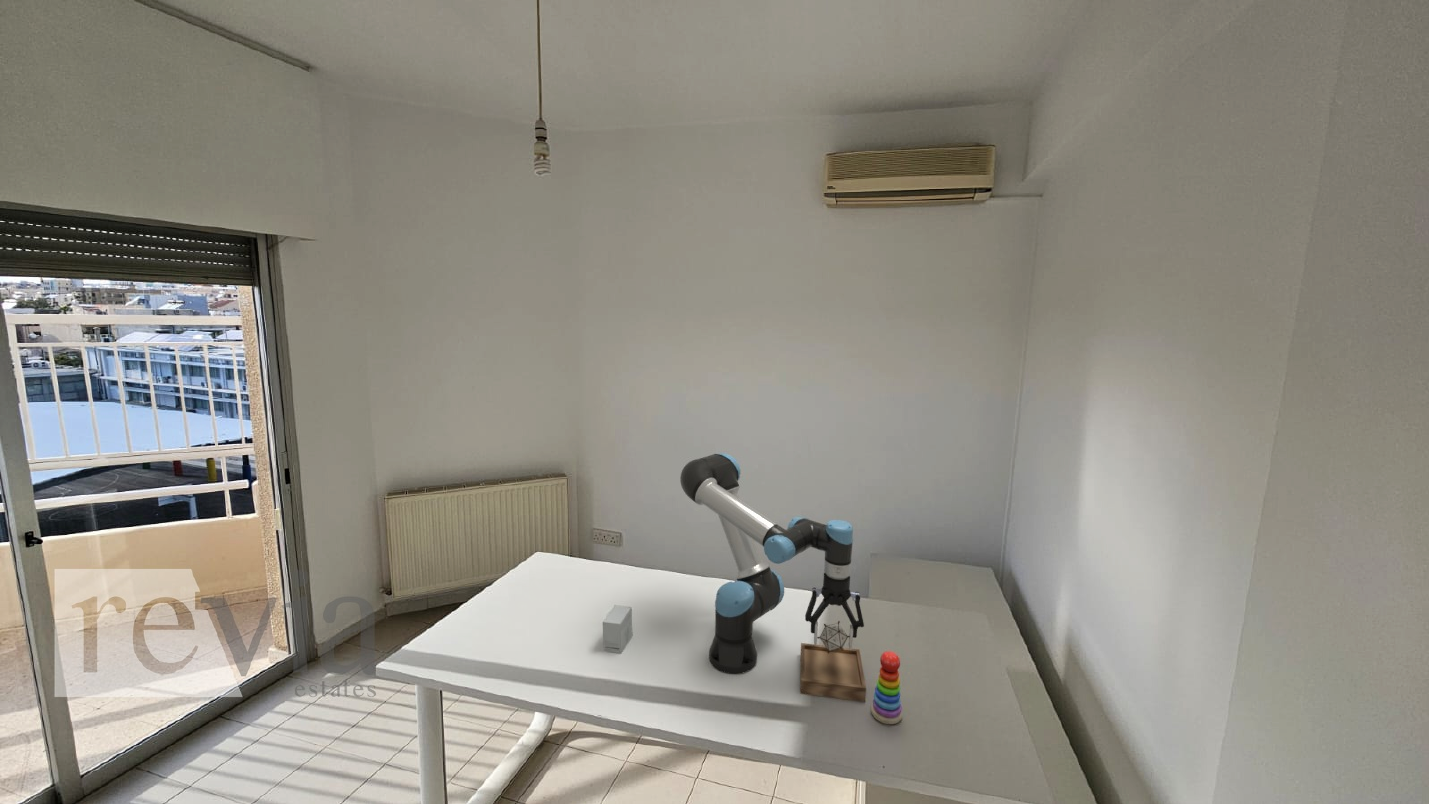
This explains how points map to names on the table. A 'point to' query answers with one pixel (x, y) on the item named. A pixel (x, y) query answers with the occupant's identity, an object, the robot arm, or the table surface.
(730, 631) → the robot arm
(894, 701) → the stacking toy
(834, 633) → the game die
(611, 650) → the skincare box
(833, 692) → the square tray
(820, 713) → the table surface
